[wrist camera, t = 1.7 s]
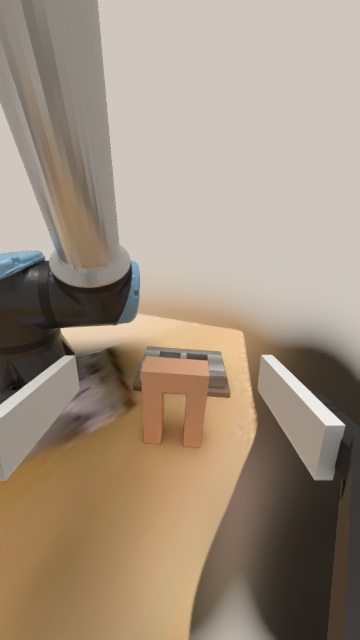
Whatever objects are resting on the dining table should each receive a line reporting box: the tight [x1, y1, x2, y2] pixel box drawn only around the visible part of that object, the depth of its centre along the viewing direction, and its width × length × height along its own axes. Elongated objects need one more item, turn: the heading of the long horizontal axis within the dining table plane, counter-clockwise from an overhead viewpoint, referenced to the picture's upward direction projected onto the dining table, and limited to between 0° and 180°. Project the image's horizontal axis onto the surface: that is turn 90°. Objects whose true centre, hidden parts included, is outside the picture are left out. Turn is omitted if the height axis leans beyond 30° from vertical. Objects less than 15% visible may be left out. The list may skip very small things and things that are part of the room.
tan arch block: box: [141, 356, 210, 448], centre depth 28 cm, size 3×8×13 cm, turn 87°
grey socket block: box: [133, 347, 230, 397], centre depth 42 cm, size 10×18×4 cm, turn 87°
